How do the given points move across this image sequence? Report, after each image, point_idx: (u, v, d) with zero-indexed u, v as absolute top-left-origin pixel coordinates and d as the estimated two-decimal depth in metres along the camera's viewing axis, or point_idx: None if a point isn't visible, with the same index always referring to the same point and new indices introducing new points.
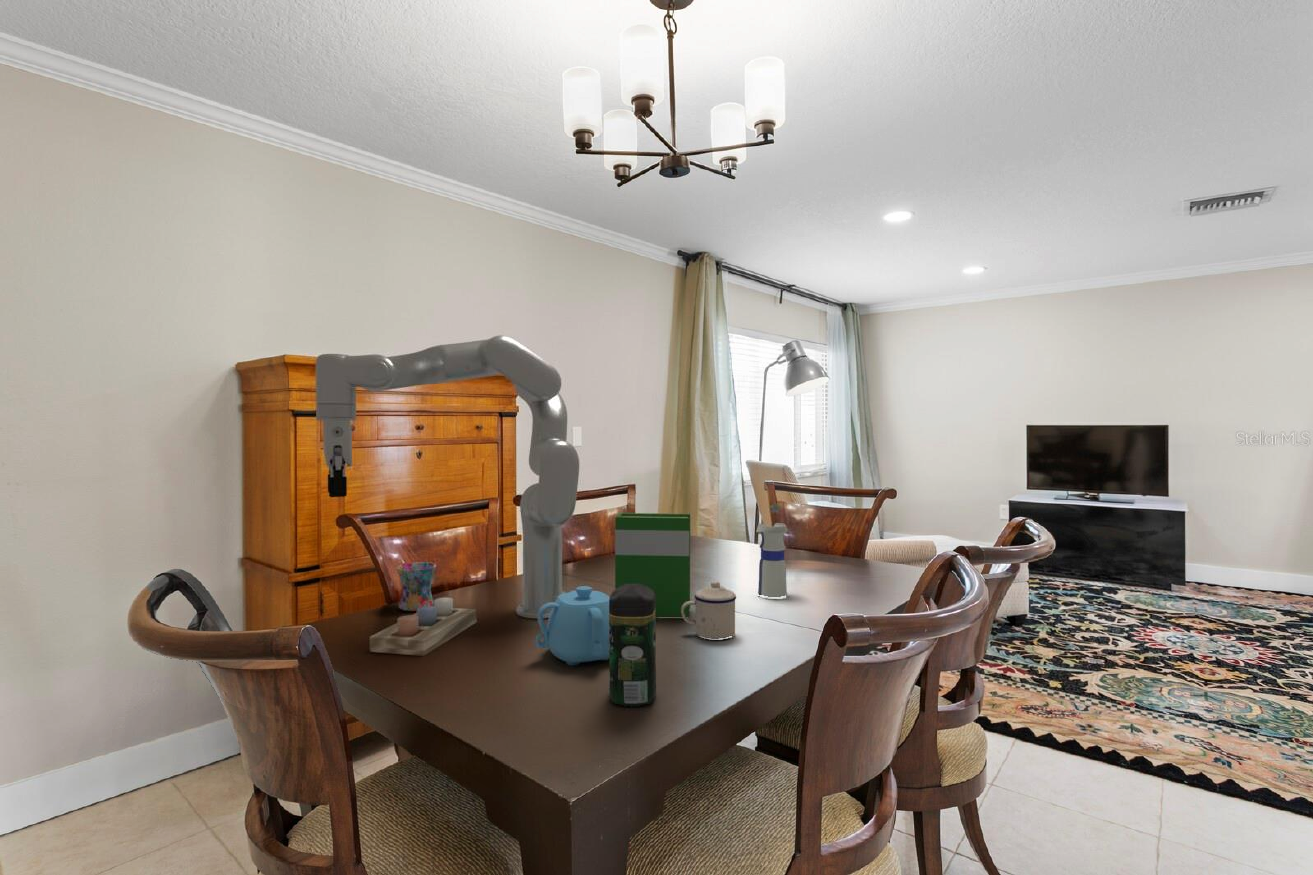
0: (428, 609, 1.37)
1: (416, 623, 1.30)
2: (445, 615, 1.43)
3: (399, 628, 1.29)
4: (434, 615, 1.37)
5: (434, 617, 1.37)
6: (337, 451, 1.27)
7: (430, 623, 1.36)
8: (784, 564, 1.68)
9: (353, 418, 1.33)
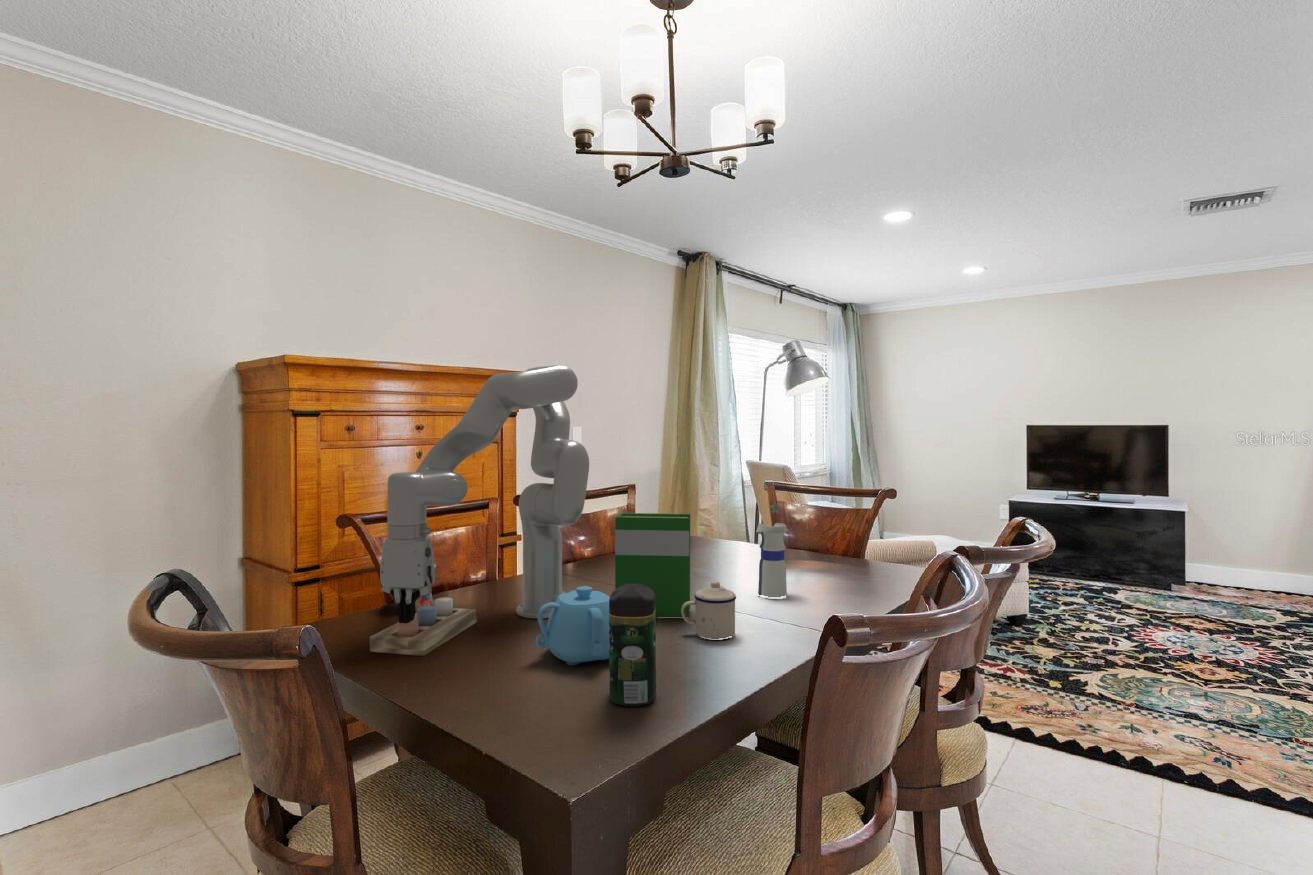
0: (428, 609, 1.37)
1: (416, 626, 1.30)
2: (445, 615, 1.43)
3: (399, 631, 1.29)
4: (434, 615, 1.37)
5: (434, 617, 1.37)
6: (427, 582, 1.29)
7: (430, 623, 1.36)
8: (784, 564, 1.68)
9: None
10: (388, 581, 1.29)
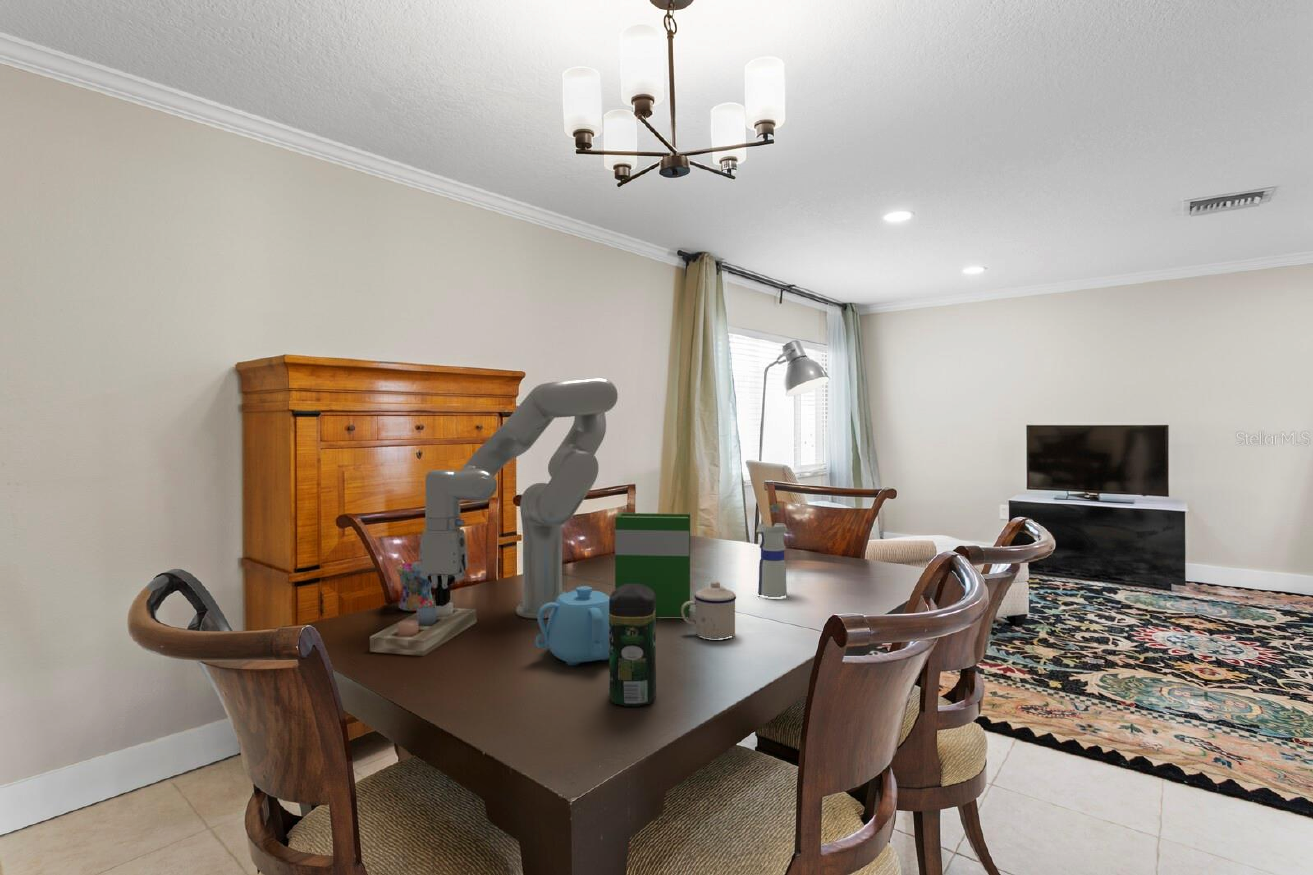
0: (428, 609, 1.37)
1: (416, 628, 1.30)
2: None
3: (399, 633, 1.29)
4: (434, 615, 1.37)
5: (434, 617, 1.37)
6: (462, 568, 1.43)
7: (430, 623, 1.36)
8: (784, 564, 1.68)
9: None
10: (426, 567, 1.42)
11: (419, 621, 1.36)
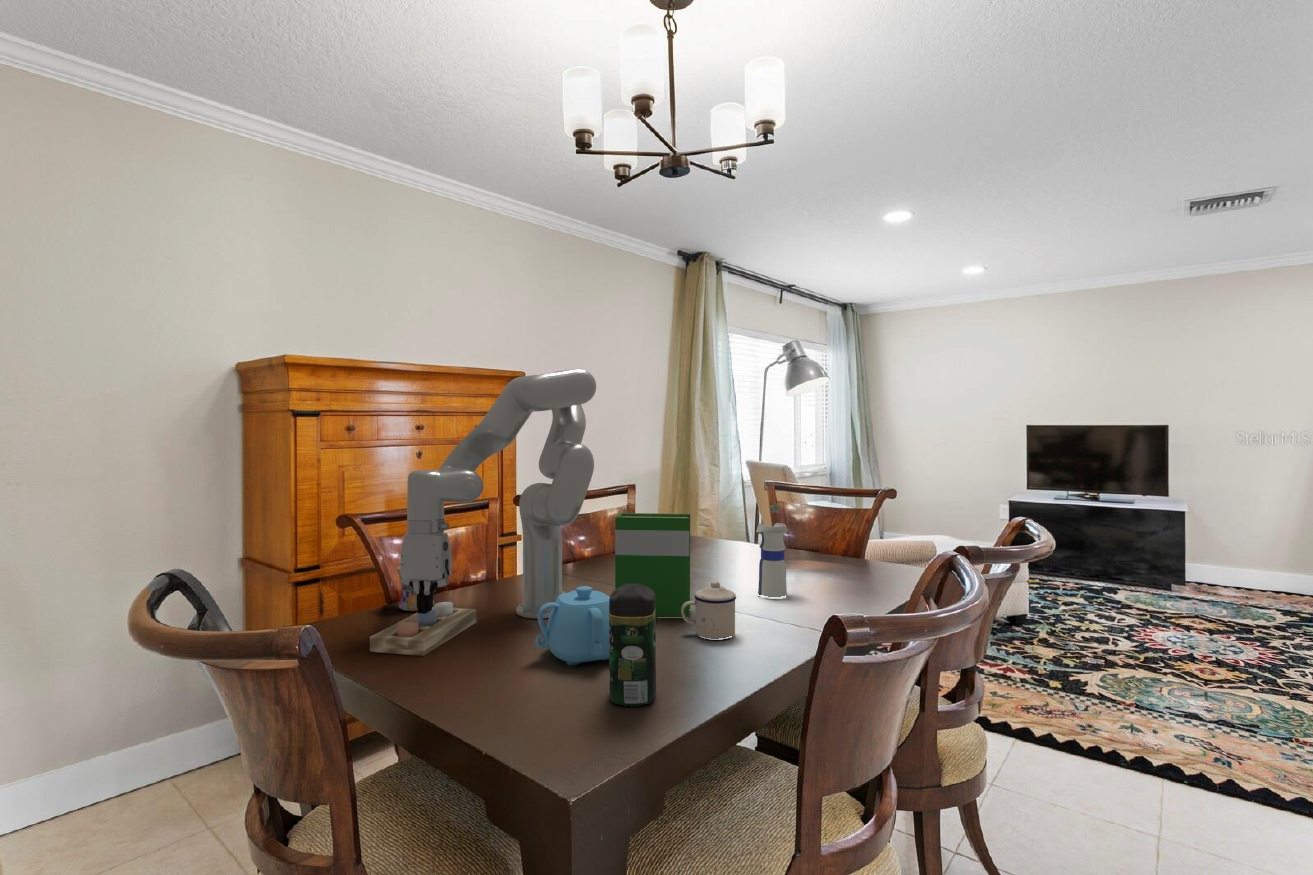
0: (428, 612, 1.37)
1: (416, 628, 1.30)
2: None
3: (399, 633, 1.29)
4: (434, 618, 1.37)
5: (434, 620, 1.37)
6: (445, 574, 1.36)
7: None
8: (784, 564, 1.68)
9: None
10: (407, 573, 1.35)
11: (419, 624, 1.36)
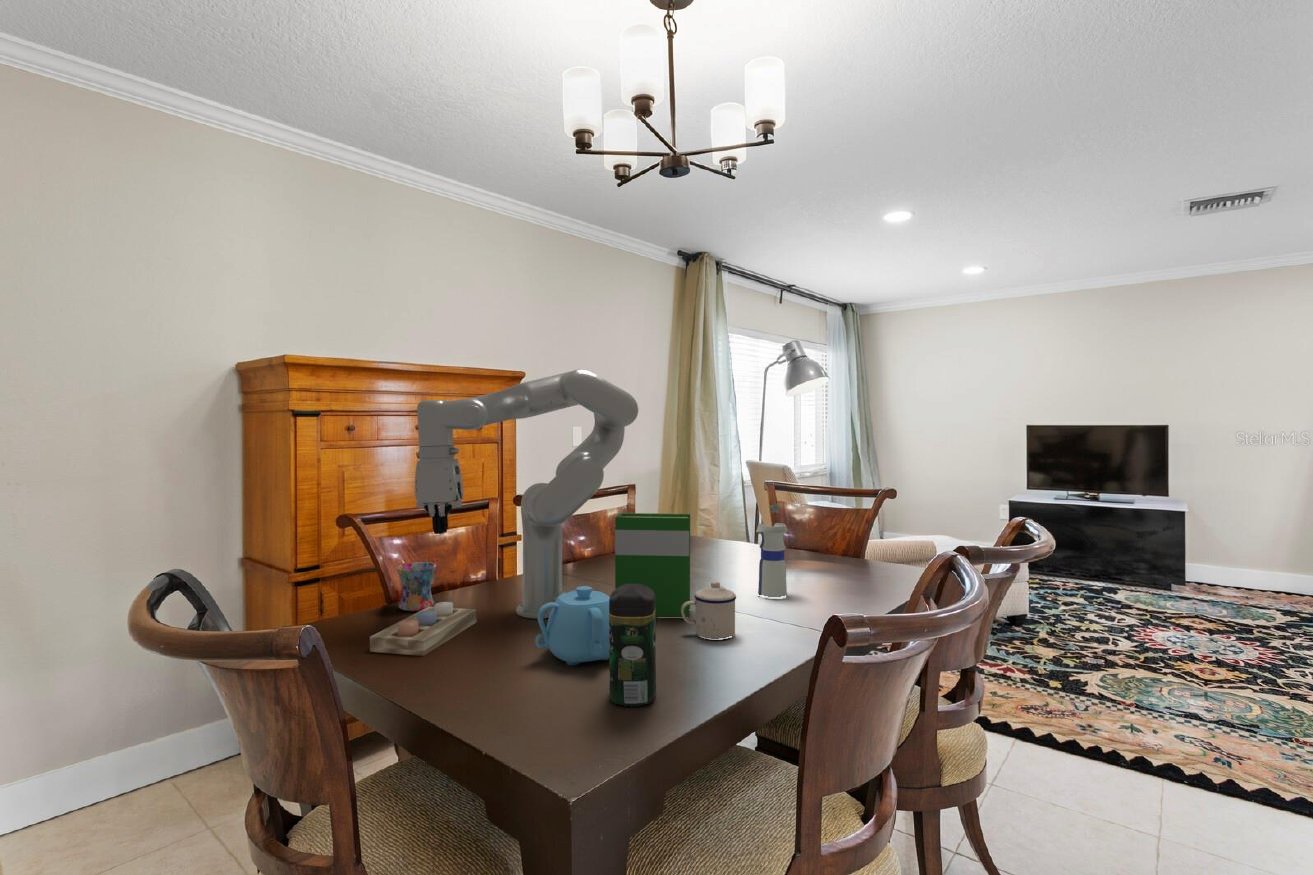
0: (428, 614, 1.37)
1: (416, 628, 1.30)
2: None
3: (399, 633, 1.29)
4: (434, 620, 1.37)
5: (434, 622, 1.37)
6: (458, 496, 1.45)
7: None
8: (784, 564, 1.68)
9: None
10: (422, 497, 1.44)
11: None
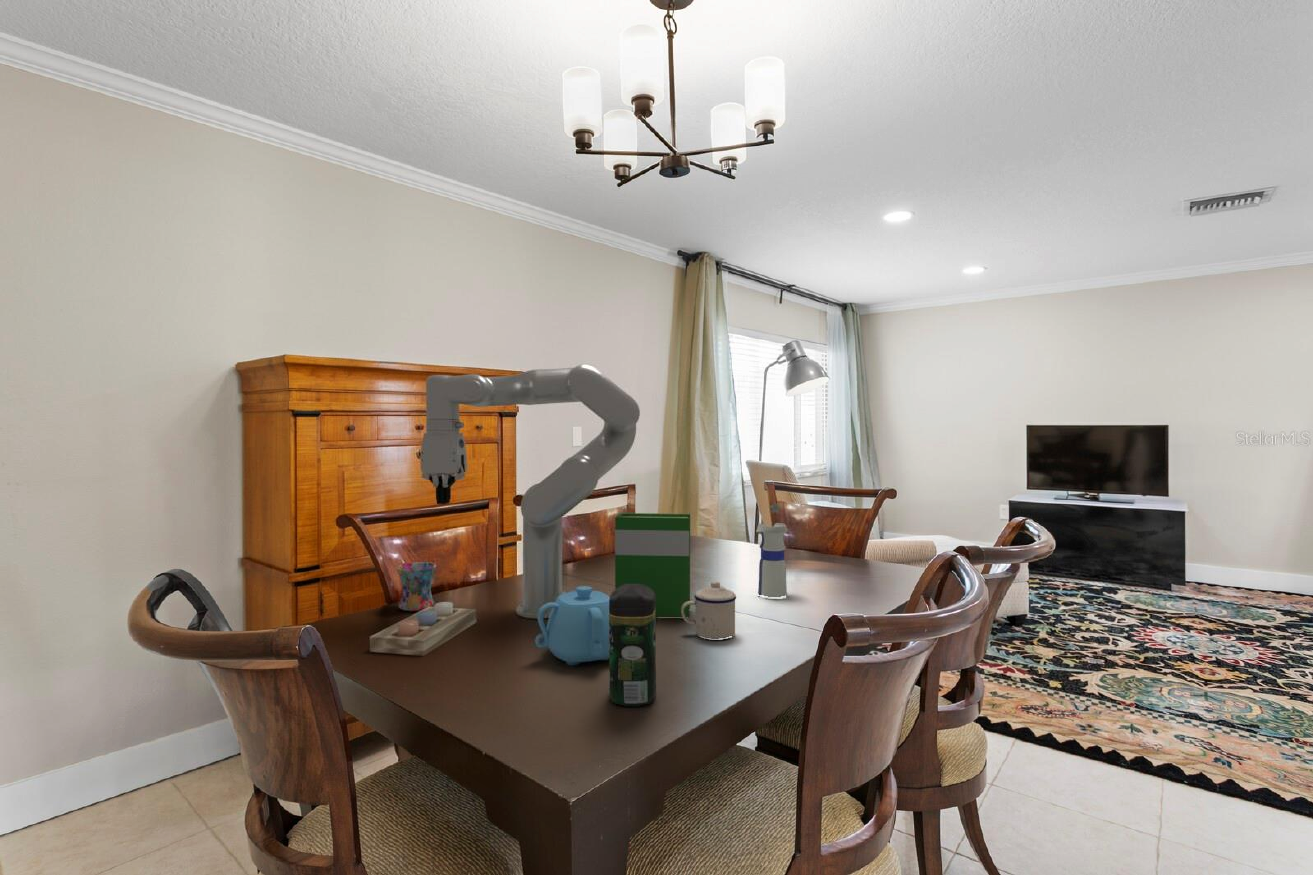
0: (428, 614, 1.37)
1: (416, 628, 1.30)
2: None
3: (399, 633, 1.29)
4: (434, 620, 1.37)
5: (434, 622, 1.37)
6: (461, 468, 1.50)
7: None
8: (784, 564, 1.68)
9: None
10: (427, 467, 1.50)
11: None
